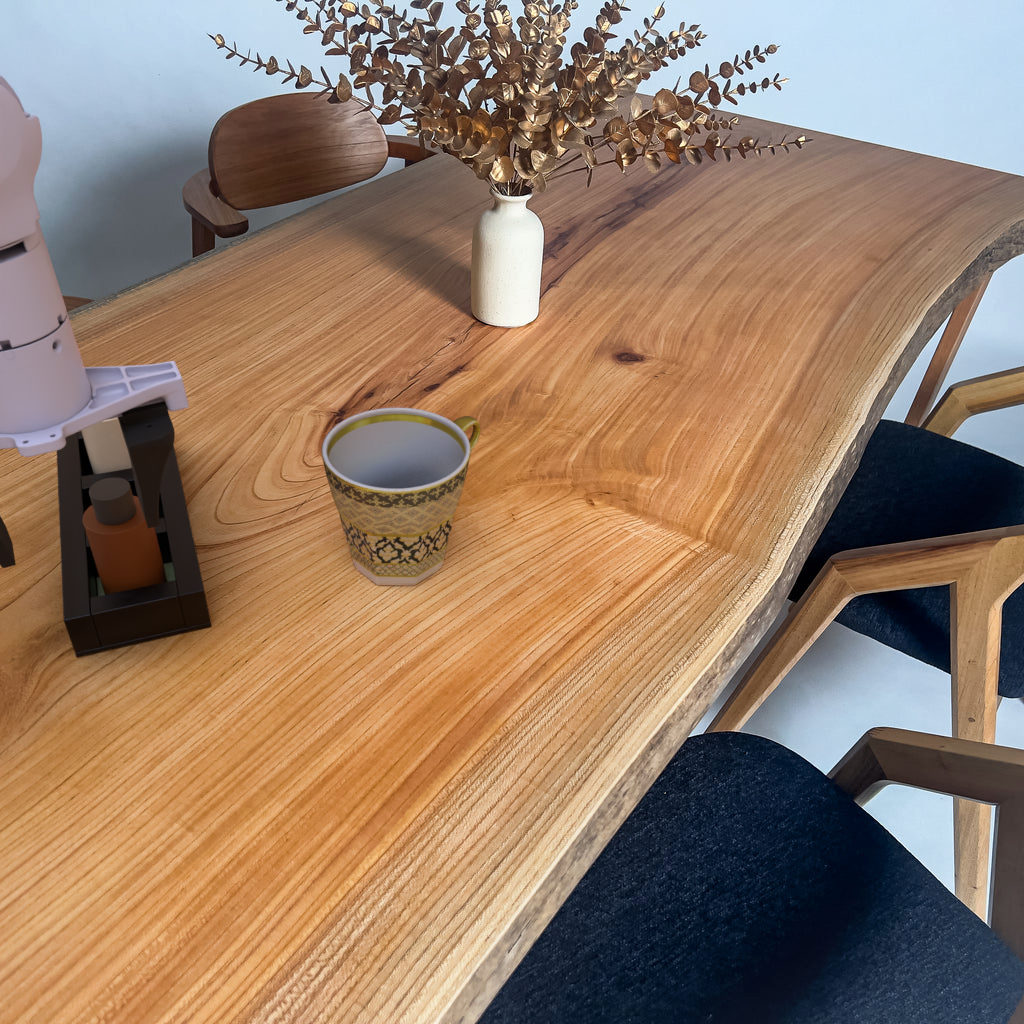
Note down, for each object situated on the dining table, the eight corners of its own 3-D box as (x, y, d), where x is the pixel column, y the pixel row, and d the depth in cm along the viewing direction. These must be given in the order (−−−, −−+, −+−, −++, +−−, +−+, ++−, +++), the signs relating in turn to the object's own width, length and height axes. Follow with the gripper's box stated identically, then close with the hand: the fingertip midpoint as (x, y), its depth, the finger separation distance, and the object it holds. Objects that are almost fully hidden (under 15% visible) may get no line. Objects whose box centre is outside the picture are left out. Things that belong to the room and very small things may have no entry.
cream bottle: (94, 500, 70) (65, 399, 64) (99, 469, 73) (72, 371, 67) (149, 494, 71) (125, 395, 65) (152, 465, 74) (129, 367, 68)
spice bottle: (111, 620, 60) (78, 514, 54) (103, 582, 63) (71, 477, 57) (173, 604, 61) (148, 499, 56) (163, 567, 64) (138, 464, 58)
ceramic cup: (393, 625, 62) (389, 511, 56) (303, 555, 67) (290, 443, 61) (521, 541, 70) (530, 432, 63) (431, 483, 75) (432, 377, 68)
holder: (76, 658, 58) (63, 620, 56) (66, 466, 74) (55, 431, 71) (212, 627, 61) (204, 590, 59) (174, 448, 76) (167, 414, 74)
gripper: (-182, 401, 37) (-59, 624, 46) (177, 329, 43) (226, 541, 52) (-176, 323, 42) (-65, 539, 51) (148, 268, 47) (197, 472, 56)
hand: (81, 535), depth 52 cm, fingers open, 7 cm apart
